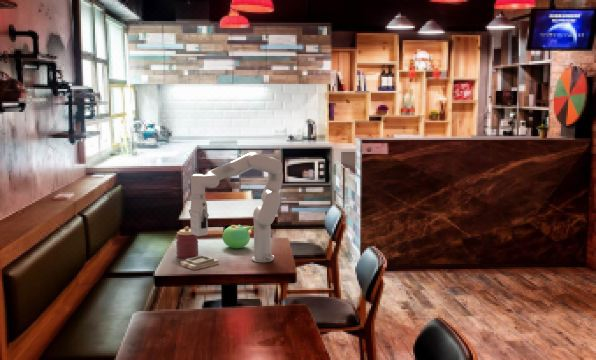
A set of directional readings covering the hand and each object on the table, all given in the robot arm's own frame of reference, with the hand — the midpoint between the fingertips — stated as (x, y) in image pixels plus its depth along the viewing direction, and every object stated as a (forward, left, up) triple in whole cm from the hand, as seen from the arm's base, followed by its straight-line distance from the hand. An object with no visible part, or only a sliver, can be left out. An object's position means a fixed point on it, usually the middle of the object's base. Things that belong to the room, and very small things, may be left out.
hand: (198, 226), depth 359 cm
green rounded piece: (+13, -39, -22) cm, 46 cm away
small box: (0, 0, -4) cm, 4 cm away
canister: (+20, -6, -22) cm, 30 cm away
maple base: (0, 0, -22) cm, 22 cm away
